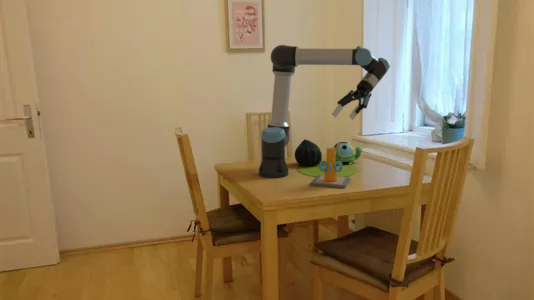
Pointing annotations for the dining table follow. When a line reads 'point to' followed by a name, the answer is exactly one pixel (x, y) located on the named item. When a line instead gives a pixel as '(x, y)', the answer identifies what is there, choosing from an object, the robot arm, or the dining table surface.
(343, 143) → the turtle holder
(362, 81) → the robot arm
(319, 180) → the tray
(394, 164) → the dining table surface
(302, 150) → the squash
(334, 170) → the tube with blue rings
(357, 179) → the dining table surface
